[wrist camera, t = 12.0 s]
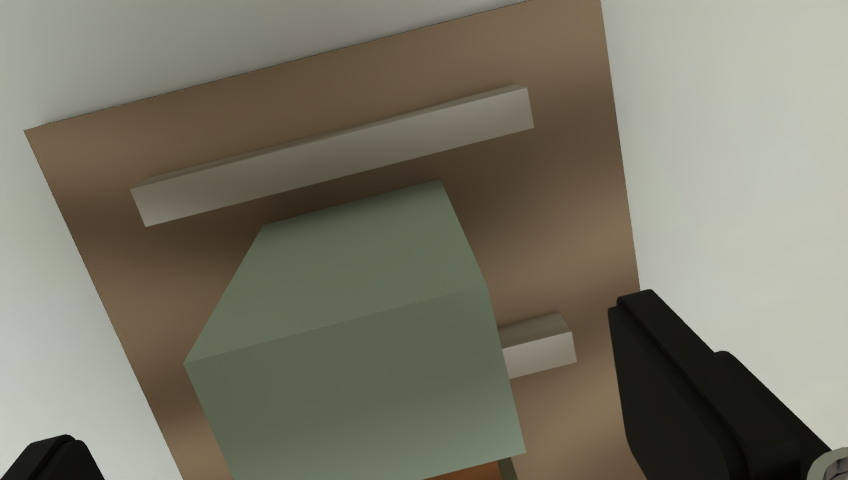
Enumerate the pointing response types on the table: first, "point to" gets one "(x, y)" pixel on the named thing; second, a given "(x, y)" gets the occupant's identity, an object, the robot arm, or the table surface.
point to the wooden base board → (369, 176)
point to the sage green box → (357, 348)
